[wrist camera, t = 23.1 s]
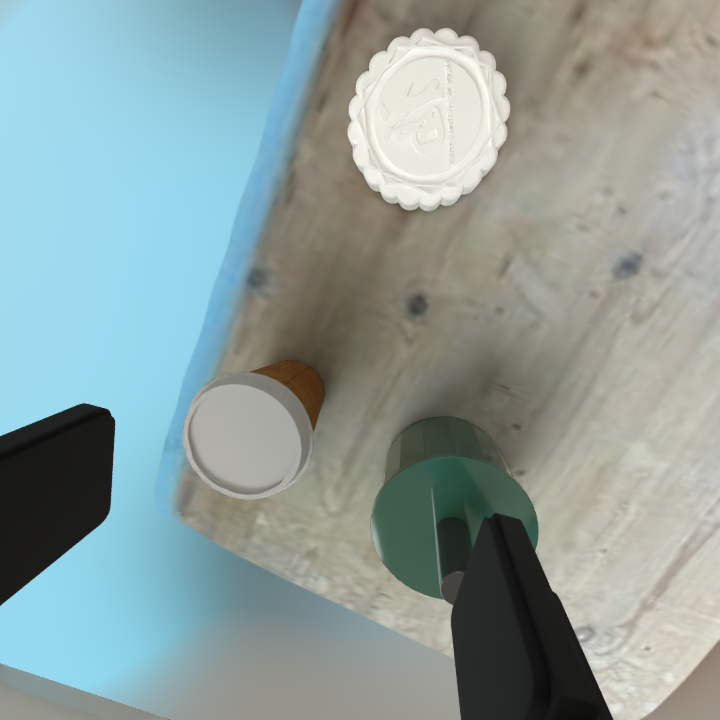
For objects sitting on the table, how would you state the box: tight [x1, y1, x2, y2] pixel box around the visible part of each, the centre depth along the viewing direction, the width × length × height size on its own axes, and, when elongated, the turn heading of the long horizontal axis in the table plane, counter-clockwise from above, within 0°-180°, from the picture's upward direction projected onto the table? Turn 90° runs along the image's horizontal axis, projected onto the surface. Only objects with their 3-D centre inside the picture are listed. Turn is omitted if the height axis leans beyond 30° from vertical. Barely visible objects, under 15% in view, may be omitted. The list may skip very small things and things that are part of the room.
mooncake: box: [348, 28, 510, 211], centre depth 30 cm, size 12×12×4 cm
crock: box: [381, 417, 513, 488], centre depth 34 cm, size 11×11×8 cm
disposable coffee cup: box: [183, 360, 324, 500], centre depth 32 cm, size 10×10×12 cm
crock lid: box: [371, 453, 538, 605], centre depth 27 cm, size 12×12×7 cm
